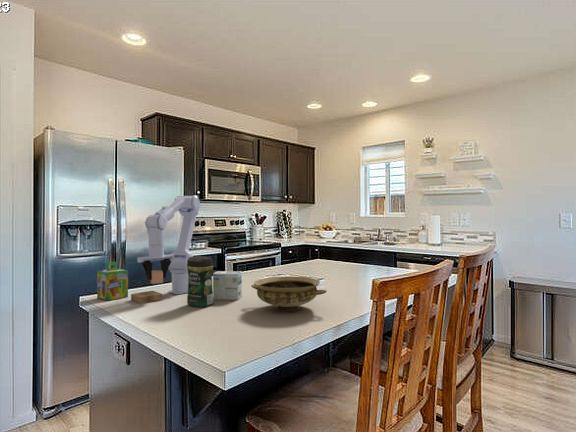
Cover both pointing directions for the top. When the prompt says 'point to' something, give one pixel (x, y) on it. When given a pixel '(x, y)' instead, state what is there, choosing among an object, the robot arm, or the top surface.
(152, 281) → the terracotta block
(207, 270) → the coffee jar
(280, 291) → the ceramic bowl
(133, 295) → the walnut slab
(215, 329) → the top surface
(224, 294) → the light bulb box
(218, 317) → the top surface
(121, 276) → the chalk box
